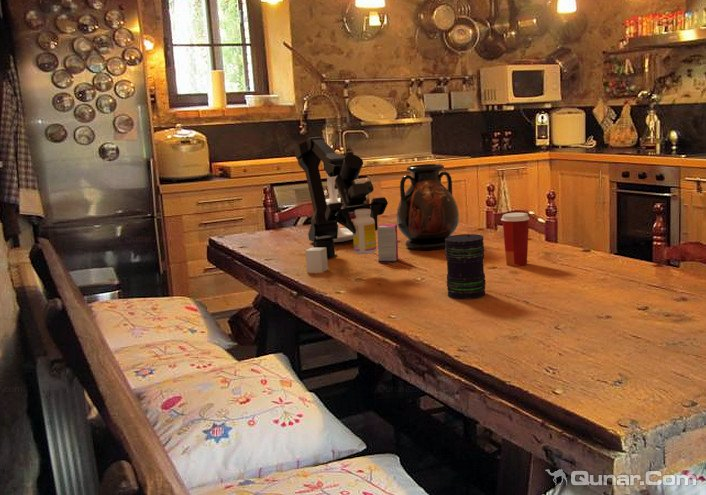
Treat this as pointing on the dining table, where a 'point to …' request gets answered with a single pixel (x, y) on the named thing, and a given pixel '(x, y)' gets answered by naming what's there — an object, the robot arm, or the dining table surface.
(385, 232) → the supplement box
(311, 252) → the grey block
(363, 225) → the supplement bottle
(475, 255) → the storage jar
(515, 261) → the coffee cup
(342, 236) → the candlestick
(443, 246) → the amphora vase
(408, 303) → the dining table surface
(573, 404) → the dining table surface
